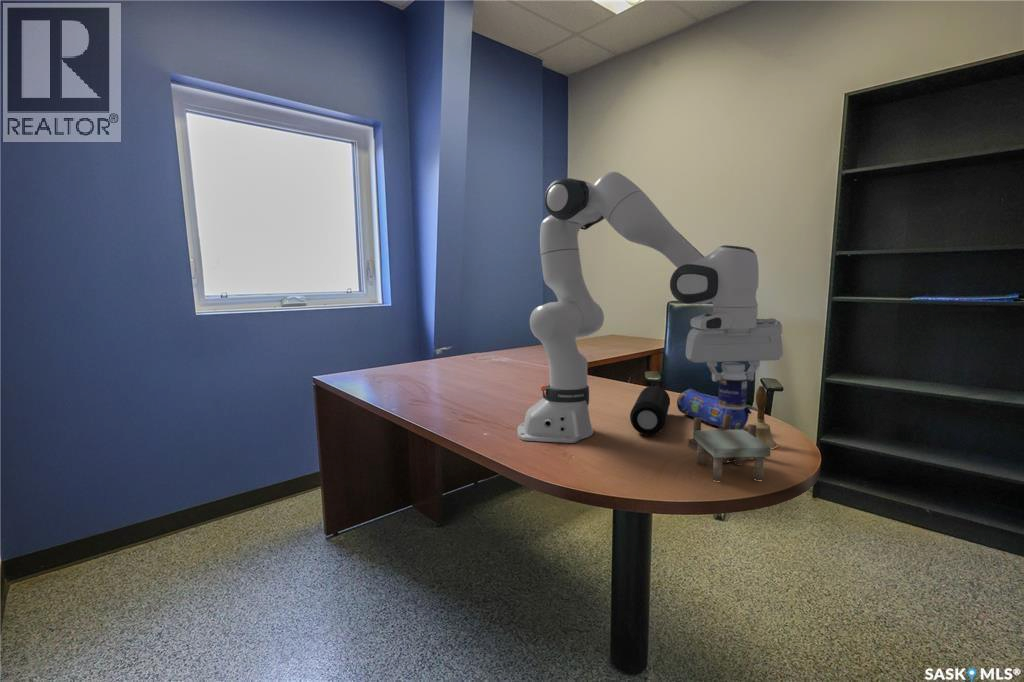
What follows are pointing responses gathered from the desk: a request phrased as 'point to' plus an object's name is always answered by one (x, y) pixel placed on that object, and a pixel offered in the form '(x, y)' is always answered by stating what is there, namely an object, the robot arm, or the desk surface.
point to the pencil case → (710, 409)
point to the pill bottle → (733, 386)
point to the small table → (730, 449)
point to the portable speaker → (650, 410)
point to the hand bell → (761, 427)
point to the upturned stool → (726, 426)
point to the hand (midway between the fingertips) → (732, 380)
